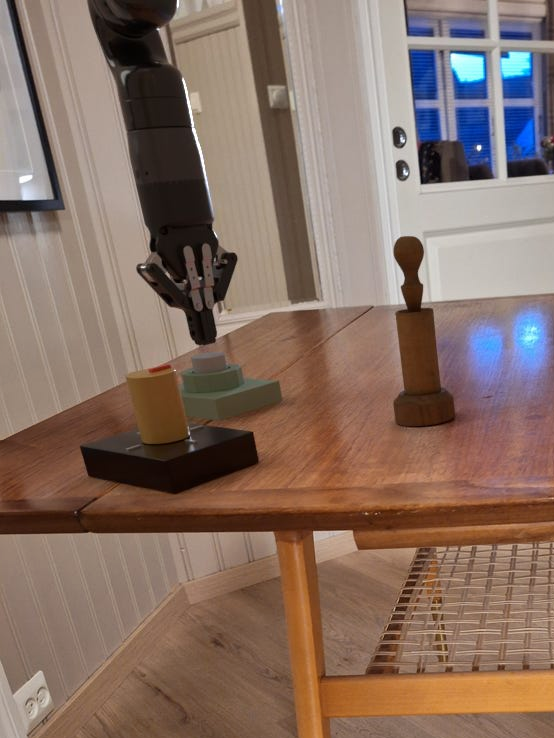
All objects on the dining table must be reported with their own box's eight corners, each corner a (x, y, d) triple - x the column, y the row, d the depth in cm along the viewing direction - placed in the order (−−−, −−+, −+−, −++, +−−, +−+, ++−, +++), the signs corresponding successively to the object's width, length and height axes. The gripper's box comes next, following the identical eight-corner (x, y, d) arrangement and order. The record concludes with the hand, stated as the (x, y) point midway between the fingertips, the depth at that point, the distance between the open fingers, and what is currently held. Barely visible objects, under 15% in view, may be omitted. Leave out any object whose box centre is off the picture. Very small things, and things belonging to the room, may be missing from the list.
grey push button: (187, 375, 104) (183, 357, 103) (213, 368, 106) (210, 351, 106) (209, 377, 102) (205, 359, 101) (235, 370, 104) (232, 352, 103)
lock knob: (163, 446, 79) (145, 375, 76) (131, 441, 81) (113, 372, 78) (200, 433, 82) (185, 365, 79) (169, 430, 84) (153, 363, 81)
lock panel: (88, 476, 83) (78, 443, 81) (173, 448, 90) (166, 418, 88) (174, 494, 76) (165, 458, 74) (259, 462, 83) (253, 429, 82)
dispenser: (154, 412, 106) (145, 375, 103) (218, 394, 113) (210, 358, 111) (219, 421, 99) (211, 381, 97) (282, 401, 106) (276, 363, 104)
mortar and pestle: (407, 411, 97) (388, 235, 89) (462, 411, 96) (448, 231, 87) (386, 427, 92) (364, 240, 83) (445, 427, 90) (428, 236, 81)
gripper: (140, 178, 87) (180, 356, 96) (240, 173, 97) (269, 335, 105) (97, 183, 91) (139, 353, 100) (197, 177, 101) (228, 333, 109)
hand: (205, 343), depth 102 cm, fingers closed
